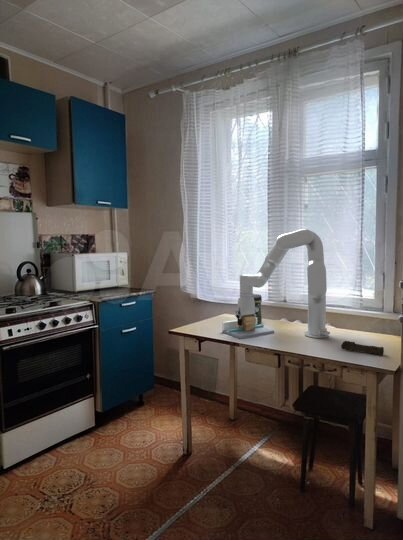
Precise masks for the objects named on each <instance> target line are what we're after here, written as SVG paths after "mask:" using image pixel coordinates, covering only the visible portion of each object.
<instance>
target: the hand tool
mask: <svg viewBox="0 0 403 540" xmlns="http://www.w3.org/2000/svg"><path fill="white" fill-rule="evenodd" d="M340 346H341V347H340V348H341V350H345V351H348V352H360V353H361V352H362V353H367V354H374V355H379V356H381V357H382V356H384V353H385V350H384V347H383V346H375V345H374V346H373V345H366V344H361V343H360V344H359V343H355V341H349V340H344V341H342V343H341V345H340Z"/></svg>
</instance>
